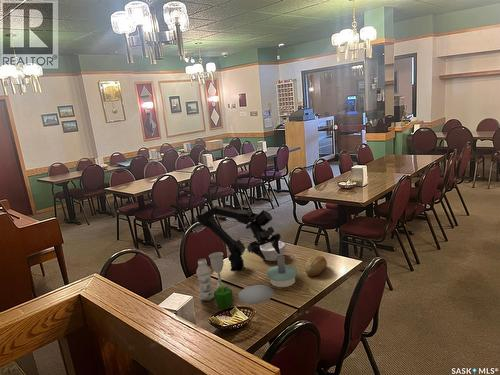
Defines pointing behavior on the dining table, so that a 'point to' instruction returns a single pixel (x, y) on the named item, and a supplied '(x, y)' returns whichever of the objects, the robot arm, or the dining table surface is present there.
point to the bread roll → (315, 265)
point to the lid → (281, 271)
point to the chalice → (217, 264)
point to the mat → (255, 294)
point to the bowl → (283, 282)
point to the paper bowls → (272, 251)
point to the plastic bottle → (205, 280)
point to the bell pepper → (223, 297)
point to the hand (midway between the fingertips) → (272, 256)
